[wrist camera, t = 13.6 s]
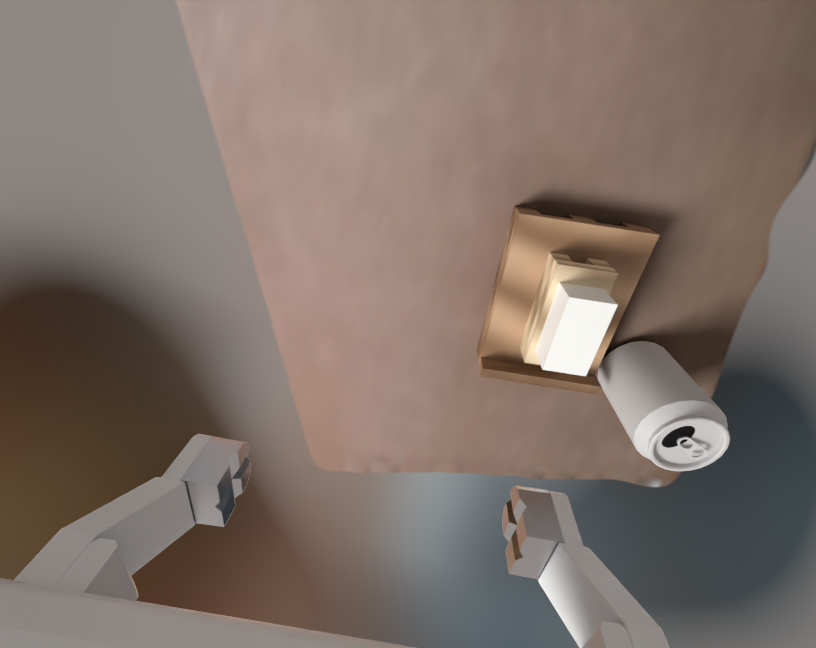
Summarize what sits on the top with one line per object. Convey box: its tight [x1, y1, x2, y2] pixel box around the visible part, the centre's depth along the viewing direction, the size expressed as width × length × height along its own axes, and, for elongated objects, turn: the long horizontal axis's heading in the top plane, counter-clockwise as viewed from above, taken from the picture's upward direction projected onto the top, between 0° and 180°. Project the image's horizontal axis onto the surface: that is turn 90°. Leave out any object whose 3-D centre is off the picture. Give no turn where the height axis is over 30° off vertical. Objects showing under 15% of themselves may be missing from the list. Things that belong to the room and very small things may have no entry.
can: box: [598, 341, 730, 471], centre depth 38 cm, size 8×8×12 cm
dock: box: [477, 206, 660, 395], centre depth 37 cm, size 16×12×5 cm
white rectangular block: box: [535, 282, 618, 376], centre depth 33 cm, size 7×4×3 cm, turn 173°
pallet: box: [519, 252, 618, 365], centre depth 35 cm, size 10×5×3 cm, turn 173°
